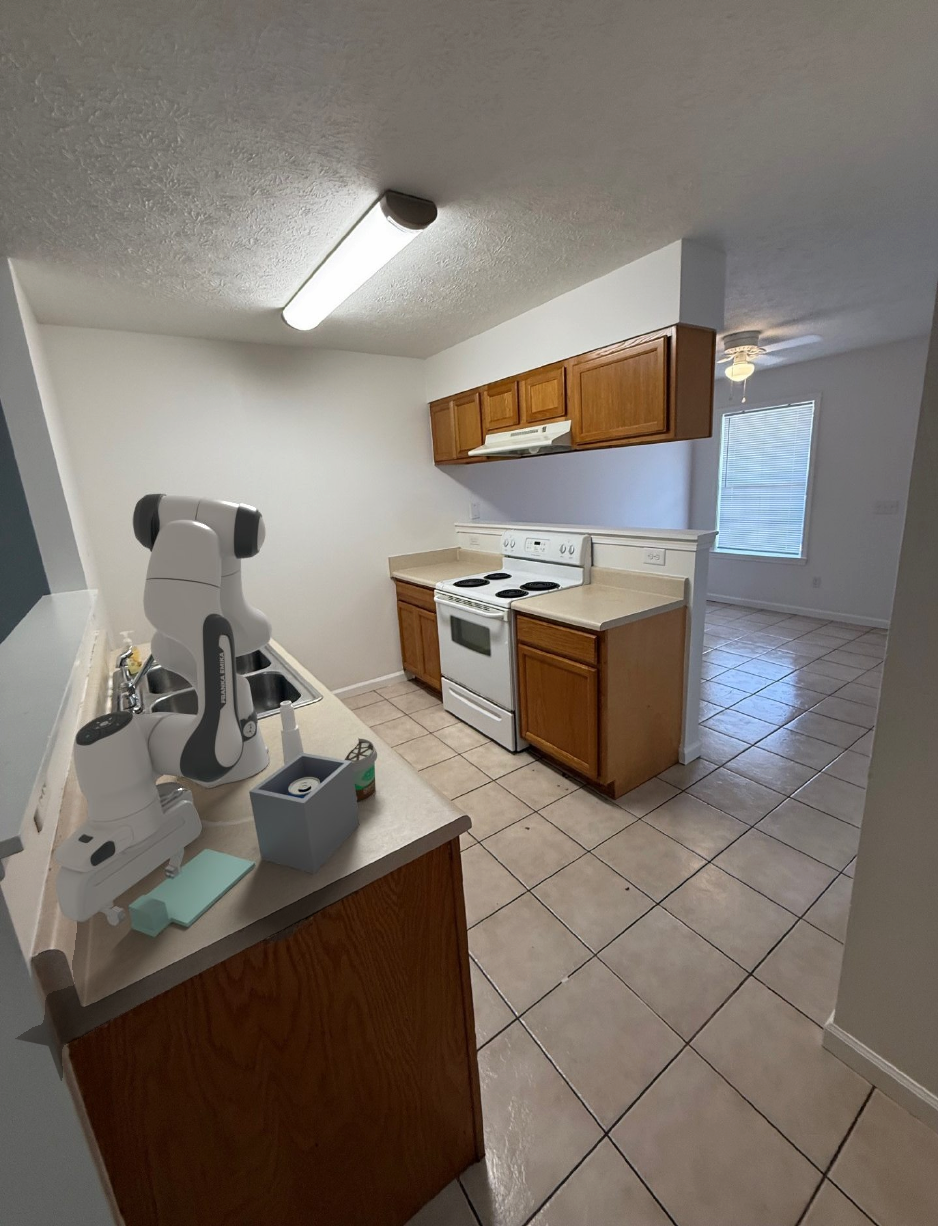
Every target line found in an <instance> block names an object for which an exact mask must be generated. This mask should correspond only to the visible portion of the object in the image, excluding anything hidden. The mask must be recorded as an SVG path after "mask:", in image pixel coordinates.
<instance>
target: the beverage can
mask: <svg viewBox="0 0 938 1226" xmlns="http://www.w3.org/2000/svg"><path fill="white" fill-rule="evenodd" d="M319 784H321V783H320V781H319V780H318V779H317V778H314V777H305V778H301V779H298V780H296V781H294V782H293V783H292V784H291V785H290V786H289V788H288V790H289V791H288V793H287V795H288V796H293V797H297V798H302V799H303V798H304V797H306V796H307V795H308V794H309V793H310V792H311V791H312V790H314V789H315V788H316V787H317V786H318V785H319Z"/></svg>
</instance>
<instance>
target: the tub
mask: <svg viewBox="0 0 938 1226" xmlns="http://www.w3.org/2000/svg"><path fill="white" fill-rule="evenodd" d="M305 777H314V778H317V779H318V780H319V781H320V783H321V784H319V785H318V786H317V787H316V788H315V789H314V790H312V791H311V792H310V793H309V794H308V795H307V796H306V797H304V798H303V799H302V798H297V797H293V796H288V795H287V793H288V791H289V790H288V788H289V786H290V785H291V784H292V783H293V782H294V781H296V780H298V779H301V778H305ZM248 793H249V799H250V804H251V809H252V816H253V822H254V826H255V832H256V837H257V841H258V848H259V853H260V854H259V855H260V858H261V860H263V861H268V862H270V863H274V864H278V865H282V866H285V867H289V868H292V869H293V868H294V869H295V870H296V869H297V870H300V871H303V872H307V873H310V874H316V873H317V872H318V871H319V870H320V868H322V867H323V865H324V864H325V863H326V862H327V861H328V860H329V859H330V858H331V856H332V855H333V854H334V853H335V852H336V851H337V850H338V849H339V848H340V847H341V846H342V844H343V843H344V842H345V841H346V840H347V839H348V838H349V837H350V836H351V835H352V833H353V832H354V831H355V830H356V829H357V828H358V827H359V826H360V824H361V823H360V817H359V815H360V814H359V808H358V803H357V799H356V791H355V783H354V775H353V767H352V761H348V760H345V759H341V758H335V757H329V756H324V755H323V756H322V755H319V754H318V755H317V754H313V753H306V752H304V753H301V754H299V755H298V756H297V757H295V758H294V759H292V760H291V761H290V762H288V763H287V764H286V765H283V766H282V767H280V768H279V769H277V770H276V771H275V772H273V773H272V774H270V775H269V776H268V777H267V778H265V779H264V780H263V781H261V782H259V783H258V784H256V786H254V787H253V788H252V789H250V790H249V791H248Z"/></svg>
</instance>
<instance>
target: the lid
mask: <svg viewBox="0 0 938 1226" xmlns="http://www.w3.org/2000/svg"><path fill="white" fill-rule="evenodd" d="M254 867H256V862H255V861H251V860H247V859H244V858H241V857H238V856H233V855H230V854H227V853H223V852H220V851H216V850H212V849H209V848H204V850H202V851H201V852H200V853H198V854H197V855H196V856H195V857H193V858H192V859H191V860H189V861H188V862H187V863H185V864H184V865H183V866H182V867H181V871H182V873H181V874H180V875H178V876H177V877H176V878H174V879H171V878H170V879H169V878H168V877H166V879H165V880H163V881H162V882H161V883H160V884H158V885H157V886H155V888H153V889H152V890H151V891H150V892H148V893H146V894H142V895H140V896H139V897H138V898H136V899H135V900H134V901H132V902H131V903H130V904H129V905H128V911H129V914H130V919H131V923H130V925H131V926H130V927H131V929H132V930H135V931H138V932H140V933H143V934H146V935H148V936H150V935H151V937H153V938H155V937H156V936H157V935H159V934H160V933H161V932H162V931H163V930H164V929H165V928H167V927H168V926H169V925H170V924H171V923H175V924H177V925H181V926H182V927H185V928H190V926H192V925H193V924H194V923H195V922H196V921H197V920H198V919H199V918H200V917H202V915H203V914H204V913H206V912H207V911H208V910H209V909H210V908H211V907H212V906H213V905H214V904H215V903H217V901H219V899H221V897H223V896H224V895H225V894H226V893H227V892H228V891H229V890H230V889H232V887H234V886H235V885H236V884H237V883H238V882H239V881H240V880H241V879H243V878H244V876H245V875H247V874H248V873H249V872H250V871H252V869H253V868H254ZM161 930H162V931H161ZM159 932H160V933H159ZM158 933H159V934H158Z"/></svg>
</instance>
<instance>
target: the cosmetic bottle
mask: <svg viewBox="0 0 938 1226" xmlns="http://www.w3.org/2000/svg"><path fill="white" fill-rule="evenodd" d="M292 704H293V703H292V701H291V700H284V701H282V702H280V703H279V705H280V707H279V713H280V714H279V715H280V719H281V725H282V726H281V729H280V733H281V745H282V746H281V747H282V754H283V763H284V765H286V764H287V763H288V762H290V761H291V760H292V759H294V758H295V757H297V756H298V755H299V754H301V753H305V751H304V747H303V741H302V735H301V732H300V727H299V725H298V724H297V722H296V716H295V708H294V705H292ZM284 765H283V766H284Z"/></svg>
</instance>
